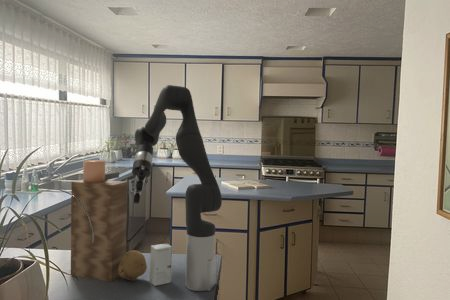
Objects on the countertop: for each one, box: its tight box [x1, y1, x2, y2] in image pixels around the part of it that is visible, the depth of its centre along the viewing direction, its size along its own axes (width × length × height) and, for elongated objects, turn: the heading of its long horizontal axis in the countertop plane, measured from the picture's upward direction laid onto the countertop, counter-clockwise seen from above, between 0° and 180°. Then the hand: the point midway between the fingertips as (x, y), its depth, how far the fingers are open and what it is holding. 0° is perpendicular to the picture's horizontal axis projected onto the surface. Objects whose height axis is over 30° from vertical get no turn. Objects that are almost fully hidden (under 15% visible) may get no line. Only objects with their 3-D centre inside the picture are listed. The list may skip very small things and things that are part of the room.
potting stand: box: [70, 179, 128, 283], centre depth 121 cm, size 16×8×32 cm, turn 74°
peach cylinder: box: [82, 159, 120, 183], centre depth 124 cm, size 7×16×7 cm, turn 164°
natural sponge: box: [118, 249, 148, 281], centre depth 116 cm, size 9×9×10 cm
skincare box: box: [149, 243, 173, 287], centre depth 116 cm, size 6×4×12 cm
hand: (137, 196), depth 134 cm, fingers open, 8 cm apart
